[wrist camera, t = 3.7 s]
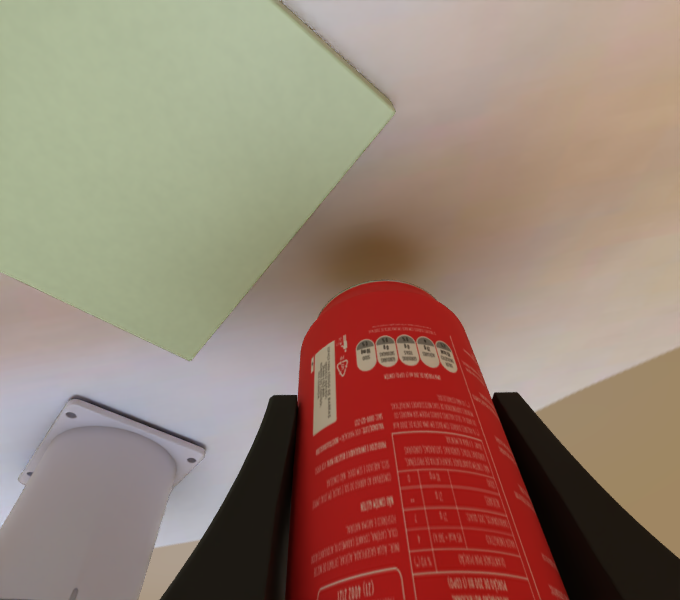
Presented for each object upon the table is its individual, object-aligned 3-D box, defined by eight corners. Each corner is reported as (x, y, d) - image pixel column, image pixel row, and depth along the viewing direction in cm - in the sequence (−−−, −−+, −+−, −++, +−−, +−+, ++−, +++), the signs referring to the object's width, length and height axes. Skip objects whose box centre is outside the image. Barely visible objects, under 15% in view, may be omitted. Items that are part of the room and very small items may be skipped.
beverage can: (489, 296, 14) (872, 1054, 4) (414, 399, 17) (537, 987, 7) (334, 246, 12) (367, 1163, 3) (282, 367, 15) (212, 1028, 6)
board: (196, 344, 21) (189, 365, 20) (-399, 52, 13) (-466, 60, 12) (392, 103, 15) (398, 114, 14) (-532, -734, 7) (-697, -870, 6)
